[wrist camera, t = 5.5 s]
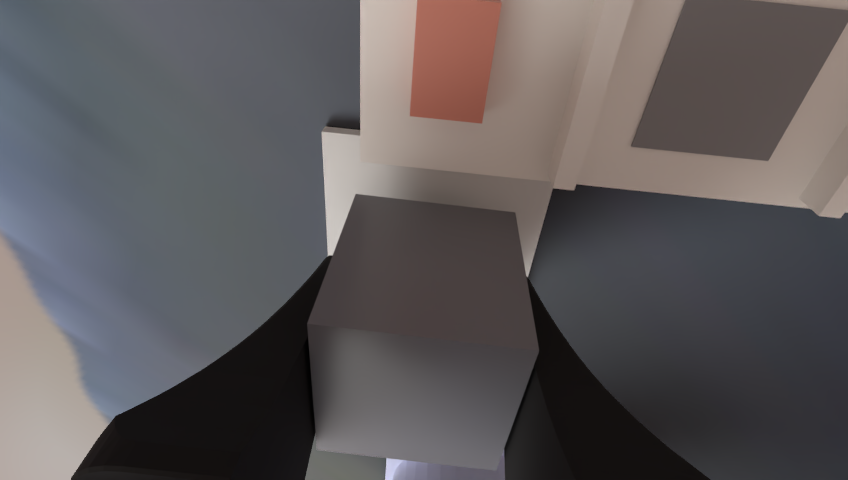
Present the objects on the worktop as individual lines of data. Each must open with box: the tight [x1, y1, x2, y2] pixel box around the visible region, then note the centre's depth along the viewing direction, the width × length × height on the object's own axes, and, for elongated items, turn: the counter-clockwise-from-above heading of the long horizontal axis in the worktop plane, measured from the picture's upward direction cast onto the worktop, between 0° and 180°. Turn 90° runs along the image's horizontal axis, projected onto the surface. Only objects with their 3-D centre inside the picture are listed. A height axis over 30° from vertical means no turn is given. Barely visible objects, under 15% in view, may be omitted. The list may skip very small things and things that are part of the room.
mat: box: [322, 126, 553, 277], centre depth 16 cm, size 7×7×1 cm
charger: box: [307, 194, 539, 471], centre depth 12 cm, size 4×5×5 cm
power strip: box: [360, 0, 848, 218], centre depth 10 cm, size 6×20×6 cm, turn 85°
